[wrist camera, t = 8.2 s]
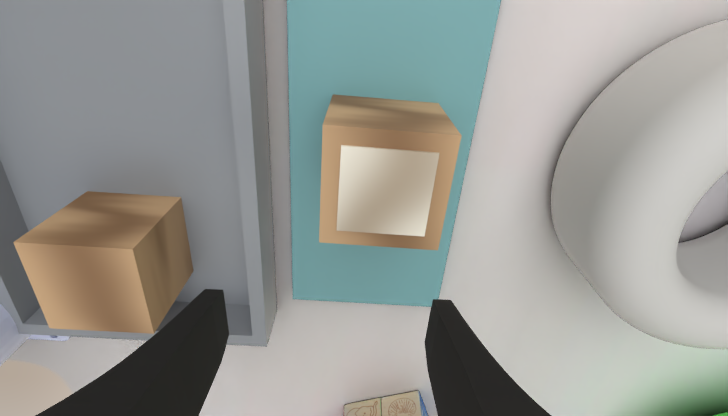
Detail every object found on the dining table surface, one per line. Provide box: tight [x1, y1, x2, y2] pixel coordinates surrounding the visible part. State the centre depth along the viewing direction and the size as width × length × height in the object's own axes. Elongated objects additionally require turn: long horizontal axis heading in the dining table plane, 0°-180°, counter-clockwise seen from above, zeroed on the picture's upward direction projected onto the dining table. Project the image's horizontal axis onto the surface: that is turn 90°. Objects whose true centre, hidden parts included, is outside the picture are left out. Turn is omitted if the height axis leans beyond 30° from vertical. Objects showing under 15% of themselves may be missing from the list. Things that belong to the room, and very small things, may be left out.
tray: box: [0, 0, 277, 347], centre depth 18 cm, size 15×24×3 cm, turn 176°
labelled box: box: [319, 94, 462, 250], centre depth 17 cm, size 5×5×5 cm
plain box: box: [13, 191, 193, 334], centre depth 20 cm, size 5×5×5 cm
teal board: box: [287, 0, 501, 307], centre depth 20 cm, size 9×20×1 cm, turn 176°
